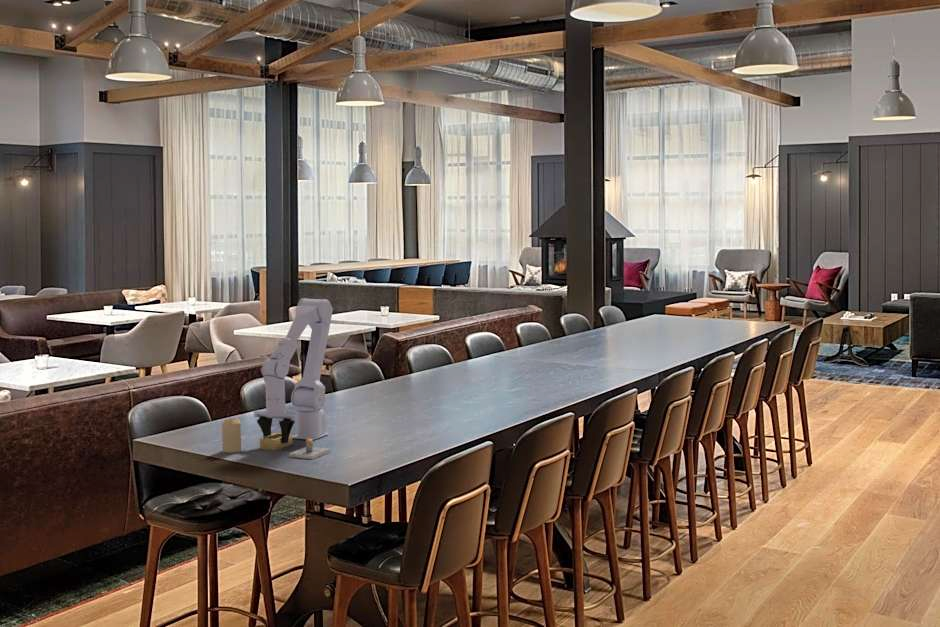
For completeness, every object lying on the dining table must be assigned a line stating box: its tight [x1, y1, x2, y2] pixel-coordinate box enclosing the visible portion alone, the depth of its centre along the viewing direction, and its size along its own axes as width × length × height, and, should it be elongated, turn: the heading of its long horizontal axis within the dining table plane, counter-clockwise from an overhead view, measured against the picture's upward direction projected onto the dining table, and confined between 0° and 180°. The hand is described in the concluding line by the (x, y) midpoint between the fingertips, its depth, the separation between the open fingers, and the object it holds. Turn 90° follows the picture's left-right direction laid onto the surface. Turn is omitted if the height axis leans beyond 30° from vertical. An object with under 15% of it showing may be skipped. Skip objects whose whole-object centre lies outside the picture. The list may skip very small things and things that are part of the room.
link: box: [259, 432, 293, 451], centre depth 309 cm, size 9×6×3 cm, turn 157°
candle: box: [221, 417, 242, 454], centre depth 303 cm, size 6×6×10 cm
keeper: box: [288, 439, 331, 460], centre depth 298 cm, size 10×8×4 cm
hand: (276, 442), depth 309 cm, fingers open, 6 cm apart
